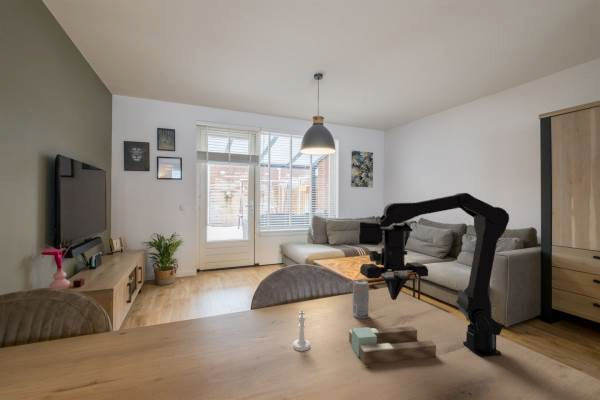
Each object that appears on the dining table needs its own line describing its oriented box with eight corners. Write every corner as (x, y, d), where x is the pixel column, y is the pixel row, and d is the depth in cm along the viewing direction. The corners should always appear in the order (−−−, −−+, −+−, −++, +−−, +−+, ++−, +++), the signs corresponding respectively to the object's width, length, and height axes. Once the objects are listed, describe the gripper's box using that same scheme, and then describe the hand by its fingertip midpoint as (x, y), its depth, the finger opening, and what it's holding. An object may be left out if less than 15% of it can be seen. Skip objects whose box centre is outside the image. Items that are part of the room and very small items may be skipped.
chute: (412, 336, 80) (412, 325, 80) (435, 356, 70) (436, 344, 70) (349, 341, 77) (349, 330, 77) (363, 363, 66) (364, 350, 66)
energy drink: (367, 312, 96) (367, 279, 96) (369, 319, 91) (369, 284, 91) (352, 312, 97) (352, 279, 97) (353, 318, 92) (354, 283, 92)
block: (368, 345, 75) (368, 327, 75) (376, 355, 70) (376, 336, 70) (351, 346, 74) (351, 328, 74) (358, 357, 69) (358, 337, 69)
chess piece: (308, 352, 71) (309, 314, 71) (290, 349, 72) (291, 313, 72) (311, 342, 76) (312, 307, 76) (294, 340, 77) (295, 305, 77)
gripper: (407, 241, 87) (407, 288, 87) (353, 242, 84) (353, 291, 84) (429, 247, 76) (429, 301, 76) (368, 248, 73) (367, 305, 73)
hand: (393, 299), depth 78 cm, fingers closed
